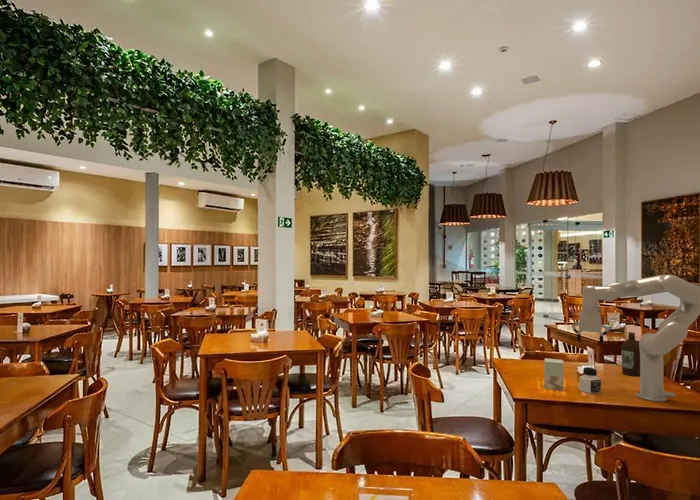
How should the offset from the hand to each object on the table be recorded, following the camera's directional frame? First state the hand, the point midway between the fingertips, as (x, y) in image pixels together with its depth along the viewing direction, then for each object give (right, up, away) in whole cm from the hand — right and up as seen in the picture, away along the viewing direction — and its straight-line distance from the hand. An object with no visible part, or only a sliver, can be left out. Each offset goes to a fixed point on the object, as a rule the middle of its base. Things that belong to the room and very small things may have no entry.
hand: (589, 343), depth 232 cm
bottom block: (-16, -25, +6) cm, 30 cm away
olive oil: (+44, -27, +37) cm, 64 cm away
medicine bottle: (0, -25, -1) cm, 25 cm away
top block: (-16, -18, +6) cm, 24 cm away
